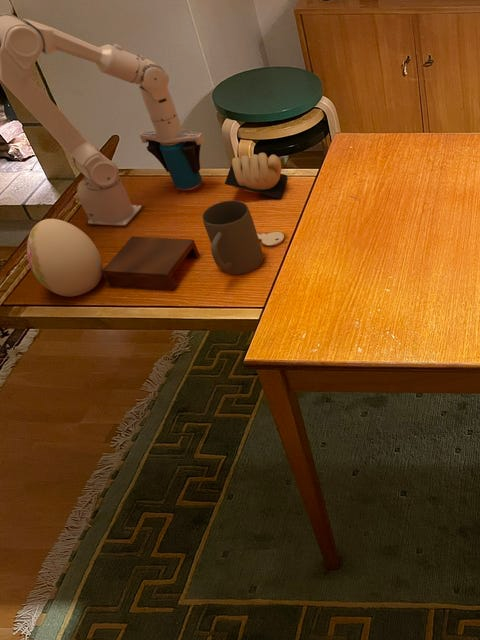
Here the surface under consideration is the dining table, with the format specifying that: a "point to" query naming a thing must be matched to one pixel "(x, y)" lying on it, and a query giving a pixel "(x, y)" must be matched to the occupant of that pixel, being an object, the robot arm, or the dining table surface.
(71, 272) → the decorative egg
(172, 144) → the beverage can
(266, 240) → the key
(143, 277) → the shelf
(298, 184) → the dining table surface
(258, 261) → the mug
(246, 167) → the decorative object
